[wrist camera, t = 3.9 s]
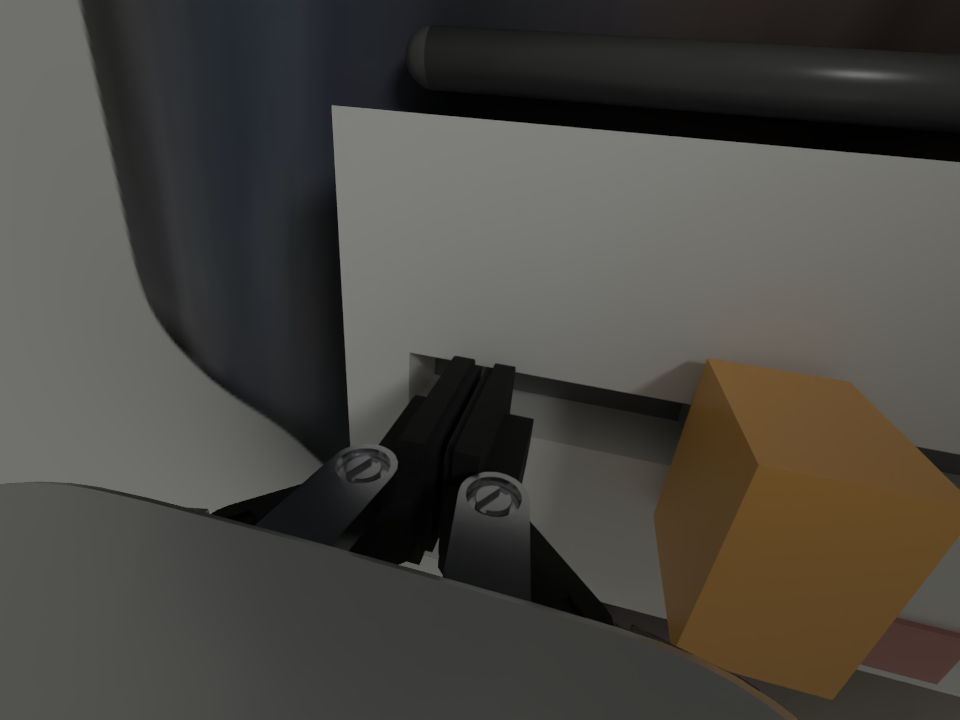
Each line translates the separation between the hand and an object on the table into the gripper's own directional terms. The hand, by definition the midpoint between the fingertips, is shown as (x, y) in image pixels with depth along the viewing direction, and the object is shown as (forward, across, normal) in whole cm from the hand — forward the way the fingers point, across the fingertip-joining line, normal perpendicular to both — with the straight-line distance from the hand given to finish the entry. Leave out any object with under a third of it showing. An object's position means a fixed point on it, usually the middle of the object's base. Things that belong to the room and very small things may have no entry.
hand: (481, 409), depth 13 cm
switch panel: (+6, -7, -1) cm, 9 cm away
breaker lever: (+3, -7, 0) cm, 7 cm away
